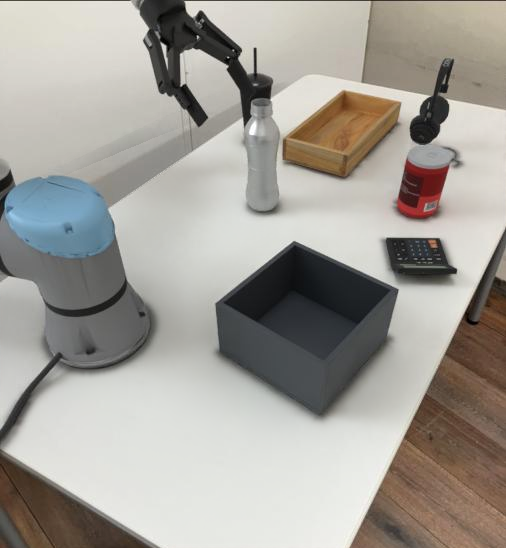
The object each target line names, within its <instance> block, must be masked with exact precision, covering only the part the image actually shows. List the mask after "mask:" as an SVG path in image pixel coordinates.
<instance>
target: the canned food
mask: <svg viewBox="0 0 506 548" xmlns="http://www.w3.org/2000/svg"><path fill="white" fill-rule="evenodd" d="M452 159H453V158H452V154H451V152H450V151H449V150H448V149H447V148H445V147H441V146H438V145H434V144H426V145H420V144H418V145H416V146H415V145H414V146H413V147H411V148H410V149H409V150H408V151H407V154H406V159H405V163H404V167H403V172H402V177H401V181H400V187H399V191H398V196H397V201H396V204H397V209H398V211H399V212H400V213H401V214H402V215H404V216H406V217H409V218H413V219H425V218H428V217H431V216H433V215H434V214H435V213H436V211H437V210H438V208H439V205H440V200H441V197H442V194H443V190H444V187H445V183H446V180H447V176H448V174H449V170H450V166H451V163H452V161H451V160H452Z"/></svg>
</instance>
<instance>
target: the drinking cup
mask: <svg viewBox="0 0 506 548" xmlns="http://www.w3.org/2000/svg"><path fill="white" fill-rule="evenodd" d="M247 77H248V78H249V80H250V81H251V83H252V84H253V86H254V88H255V89H256V91H257V92H256V93H255V94H254V95H253V96H252V97H251V98H250V99H249V100H247V101H246V99H245V98H244V96H243V95H242V93H241V92H240V91H239V96H240V97H239V98H240V104H241V114H242V121H243V130H244V129H245V126H246V124H247V123H248V121H249V120H250V118H251V117H252V115H251V102H252V101H253V100H255V99H260V98H264V99H269V100H271V99H272V87H273V86H274V80H273V78H272V77H271V76H269V75H267V74H265V73H261V72H258V48H257V47H253V72H251V73H247Z"/></svg>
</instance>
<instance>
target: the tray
mask: <svg viewBox="0 0 506 548" xmlns="http://www.w3.org/2000/svg"><path fill="white" fill-rule="evenodd" d="M401 106H402V101H398V100H393V99H390V98H384V97H380V96H375V95H369V94H364V93H360V92H356V91H351V90H345V89H342V90H340V91H339V92H338V93H337V94H336V95H335V96H333V97H332V98H331V99H330V100H329V101H327V102H326V103H325V104H324V105H322V106H321V107H319V109H317V110H316V111H315V112H313V114H311V115H310V116H309V117H307V118H306V119H304V120H303V121H302V122H301V123H300V124H299V125H297V126H296V127H295V128H294V129H292V130H291V131H290V132H289V133H288V134H286V135H285V136H284V137H283V138H282V148H281V149H282V151H281V156H282V161H284V162H288V163H291V164H295V165H299V166H303V167H307V168H310V169H313V170H317V171H321V172H325V173H329V174H331V175H336V176H339V177H343V178H346V177H347V176H348V175H349V174H350V173H351V172H352V171H353V169H355V167H356V166H357V165H358V164H359V163H360V162H361V161H362V160H363V159H364V158H365V157H366V156H367V155H368V153H370V152H371V150H372V149H374V147H375V146H377V144H378V143H380V141H381V140H382V139H383V138H384V137H385V136H386V135H387V134H388V133H389V132H390V131H391V130H392V129H393V127H394V126H395V125H397V124H398V121H399V118H400V113H401Z"/></svg>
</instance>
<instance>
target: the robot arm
mask: <svg viewBox="0 0 506 548" xmlns="http://www.w3.org/2000/svg"><path fill="white" fill-rule="evenodd" d="M129 1H130V2H131V4H132V6H133V7H134V9H136V10H137V11H139V16H140V18H141V19H142V21H143V22H144V23H145V25H146V27H147V28H148V30H147V32H146V34H145V35H144V37H143V39H142V43H143V45H145V48H146V50H147V52H148V55H149V58H150V62H151V67H152V70H153V74H154V80H155V83H156V87H157V91H158V93H159V94H160V95H165V94H166V95H167V96H168V97H170V98H172V97H174V98H175V100H176V101H177V103H178V104H179V106H180V107H181V109H183V110H184V111H186V112H187V113H188V114H189V116H190V118H191V119H192V120H193V122H194V123H195V125H196V127H198V128H200V127H202V126H203V125H204V124H205V123H206V122H207V120H208V119H209V116H208V114H207V112H206V111H205V110H204V108H203V107H202V105H201V104H200V102H199V101H198V100H197V98H196V97H195V95H194V93H193V92H192V91H191V89H190V88H189V86H188V84H187V83H186V82H185V83H183V84H182V80H181V79H182V78H181V76H182V74H181V54H184V52H185V51H191V50H192V49H194V50H200V51H201V52H203V53H205V54H206V55H208V56H210V57H212V58H214V59H215V60H217V61H219V62H221V63H222V64H223V65H225V66H227V68H226V69H225V70H226V72H227V73H228V75H229V76H230V78H231V79H232V82H234V84H235V86H236V87H237V89H238V90H239V93H240V92H241V93H242V95H243V96H244V98H245V99H246V101H247V100H249V99H250V98H251V97H252V96H253V95H254V94H255V93H256V92H257V91H256V89H255V88H254V86H253V84H252V83H251V81H250V80H249V78H248V77H247V74H248V73H247V71H246V69H245V68H244V66H243V64H242V63H241V62H240V59H239V58H240V57H241V55H242V53H243V48H242V47H241V45H238V44H237V43H236V42H235V41H234V40H233V39H232V38H231V37H230V36H228V34H226V33H225V32H224V31H222V29H220V28H219V27H218V26H217V25H216V24H215V23H213V22H212V21H211V20H210V19H209V17H208V16H207V14H206V13H205V11H203V10H202V9H201V10H198V12H197V13H196V15H194V16H191V15H190V14H189V13H188V11H187V5H186V4H187V3H186V1H185V0H129ZM162 45H164V46H165V53H164V50H163V46H162ZM165 57H166V58H165ZM166 59H167V61H166ZM181 84H182V85H181ZM0 276H6V277H10V278H16V279H21V280H25V281H29V282H33V283H34V284H35V285H36V287H37V289H38V291H39V295H40V296H41V298H42V300H43V303H44V335H45V341H46V343H47V346H48V348H49V350H50V352H51V353H52V355H53V357H52V359H51V360H49V362H48V363H47V365H46V366H44V368H43V369H42V370H41V371H40V372H39V373H38V375H36V377H34V379H33V380H32V381H31V382H30V383H29V385H28V386H27V387H26V388H25V390H24V391H23V392H22V394H21V396H20V397H19V398H18V400H17V402H16V403H15V405H14V407H13V408H12V410H11V411H10V414H9V416H8V417H7V418H6V420H5V422H4V424H3V425H2V427H1V428H0V442H1V441H2V440H3V438H4V437H5V436H6V435H7V433H8V432H9V430H10V429H11V427H12V426H13V425H14V423H15V421H16V419H17V417H18V416H19V413H20V411H21V410H22V408H23V407H24V405H25V403H26V401H27V400H28V399H29V397H30V395H31V394H32V393H33V392H34V390H35V389H36V388H37V387H38V386H39V385H40V384H41V382H42V381H43V380H44V379H45V378H46V377H47V375H49V373H50V372H51V371H52V370H53V368H54V367H55V366H56V365H57V364H58V363H59V361H60V362H61V363H62V364H65V365H68V366H70V367H73V368H74V367H75V368H79V369H96V368H97V369H98V368H103V367H108V366H111V365H113V364H116V363H119V362H121V361H123V360H125V359H127V358H128V357H131V355H133V354H134V353H135V352H137V351H138V350H139V349H140V348H141V347H142V345H144V343H145V341H146V339H147V338H148V336H149V333H150V329H151V320H150V314H149V311H148V309H147V308H148V307H147V306H146V305H145V304H146V303H145V301H144V299H143V298H142V297H141V296H140V294H139V293H138V292H137V291H136V290H135V289H134V288H133V286H132V285H131V283H130V282H129V281H128V278H127V275H126V270H125V266H124V262H123V258H122V254H121V251H120V248H119V243H118V237H117V235H116V225H115V222H114V219H113V217H112V215H111V213H110V210H109V208H108V205H107V202H106V200H105V198H104V196H103V195H102V193H101V192H100V191H99V190H98V189H97V188H96V187H94V186H93V185H92V184H90V183H88V182H86V181H84V180H82V179H79V178H77V177H76V178H75V177H72V176H67V175H59V174H58V175H56V174H55V175H48V176H47V177H45V178H43V177H41V176H36V177H33V178H29V179H26V180H24V181H22V182H20V183H18V184H16V182H15V179H14V175H13V173H12V168H11V166H10V163H9V162H8V160H7V159H5V158H3V157H2V156H0Z"/></svg>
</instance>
